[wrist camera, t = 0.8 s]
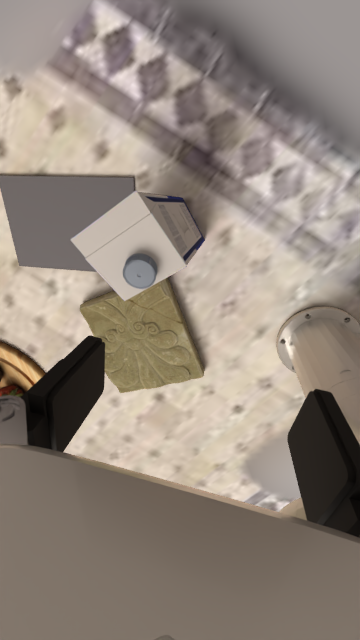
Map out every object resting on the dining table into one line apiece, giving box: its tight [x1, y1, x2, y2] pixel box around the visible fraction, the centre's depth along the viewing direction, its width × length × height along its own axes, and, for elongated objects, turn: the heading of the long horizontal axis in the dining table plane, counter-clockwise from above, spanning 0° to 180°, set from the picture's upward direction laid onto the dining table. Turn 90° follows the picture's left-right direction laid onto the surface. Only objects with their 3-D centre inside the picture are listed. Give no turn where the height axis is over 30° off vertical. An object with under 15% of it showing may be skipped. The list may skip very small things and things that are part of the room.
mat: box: [0, 176, 135, 272], centre depth 40 cm, size 22×14×1 cm, turn 88°
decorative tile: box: [80, 277, 204, 393], centre depth 46 cm, size 19×20×4 cm
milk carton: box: [71, 191, 205, 301], centre depth 29 cm, size 7×7×20 cm
